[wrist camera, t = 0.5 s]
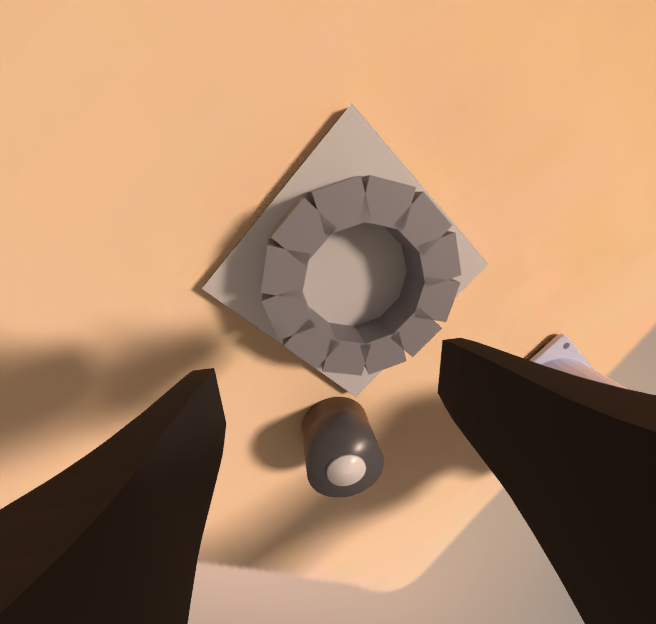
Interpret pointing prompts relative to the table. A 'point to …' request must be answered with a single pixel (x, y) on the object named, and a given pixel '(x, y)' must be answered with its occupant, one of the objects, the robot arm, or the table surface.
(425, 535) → the table surface
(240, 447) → the table surface
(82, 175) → the table surface
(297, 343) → the segmented ring plate
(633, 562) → the robot arm
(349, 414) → the grey cylinder
